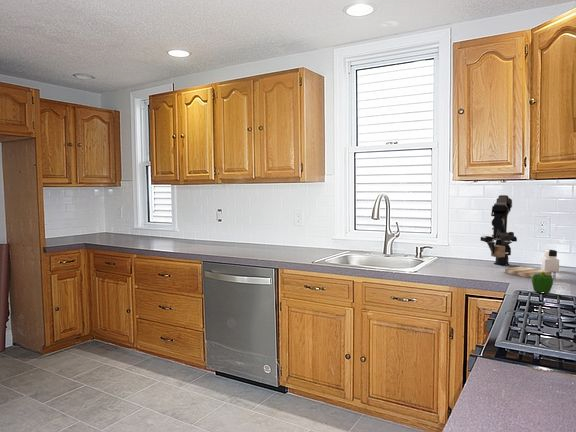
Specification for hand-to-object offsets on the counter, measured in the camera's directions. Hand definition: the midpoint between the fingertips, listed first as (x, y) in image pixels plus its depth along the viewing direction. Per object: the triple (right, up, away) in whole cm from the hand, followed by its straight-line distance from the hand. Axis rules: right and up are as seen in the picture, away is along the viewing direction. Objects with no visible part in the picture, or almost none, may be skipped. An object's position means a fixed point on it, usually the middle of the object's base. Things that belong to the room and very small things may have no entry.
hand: (498, 253), depth 245 cm
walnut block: (0, -2, 0) cm, 2 cm away
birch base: (+13, -10, -7) cm, 18 cm away
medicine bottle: (+30, -10, +1) cm, 32 cm away
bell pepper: (-3, -14, -47) cm, 49 cm away
